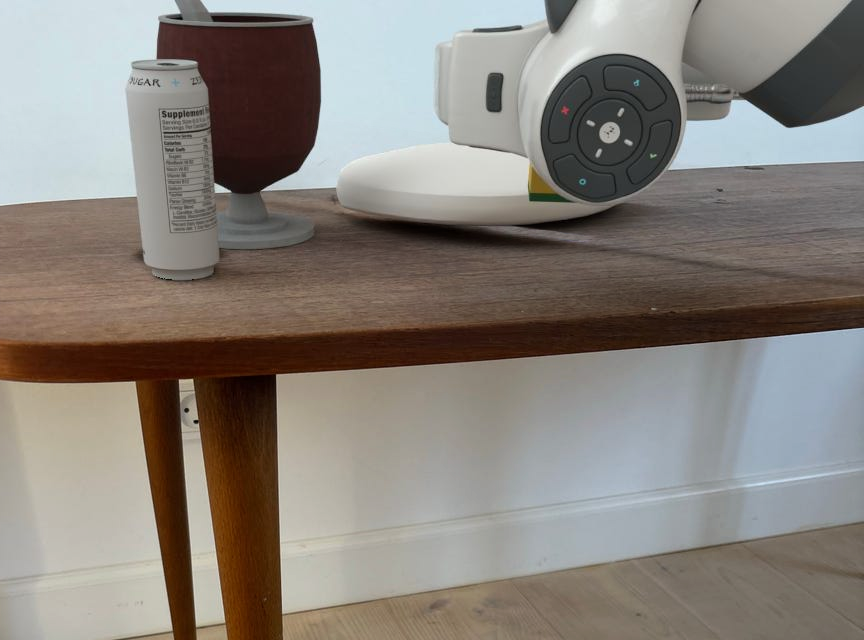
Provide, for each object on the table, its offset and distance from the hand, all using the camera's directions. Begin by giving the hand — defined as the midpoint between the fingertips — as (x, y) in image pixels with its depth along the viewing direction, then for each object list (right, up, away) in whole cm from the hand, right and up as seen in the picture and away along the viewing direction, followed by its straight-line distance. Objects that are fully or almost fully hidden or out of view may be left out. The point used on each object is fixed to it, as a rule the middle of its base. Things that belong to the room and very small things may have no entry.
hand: (575, 68), depth 77 cm
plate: (-5, 0, +27) cm, 28 cm away
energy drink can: (-30, -12, +9) cm, 34 cm away
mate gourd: (-27, -4, +20) cm, 34 cm away
